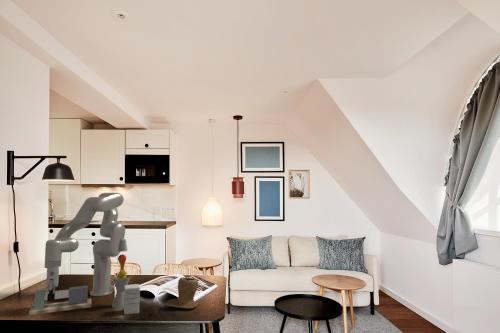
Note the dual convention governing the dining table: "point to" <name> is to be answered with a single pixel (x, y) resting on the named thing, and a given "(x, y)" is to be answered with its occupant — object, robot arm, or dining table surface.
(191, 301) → the brown boot
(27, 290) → the dining table surface
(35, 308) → the socket block
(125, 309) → the supplement box
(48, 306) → the base board
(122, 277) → the lava lamp
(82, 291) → the sleeve
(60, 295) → the tube
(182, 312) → the dining table surface
